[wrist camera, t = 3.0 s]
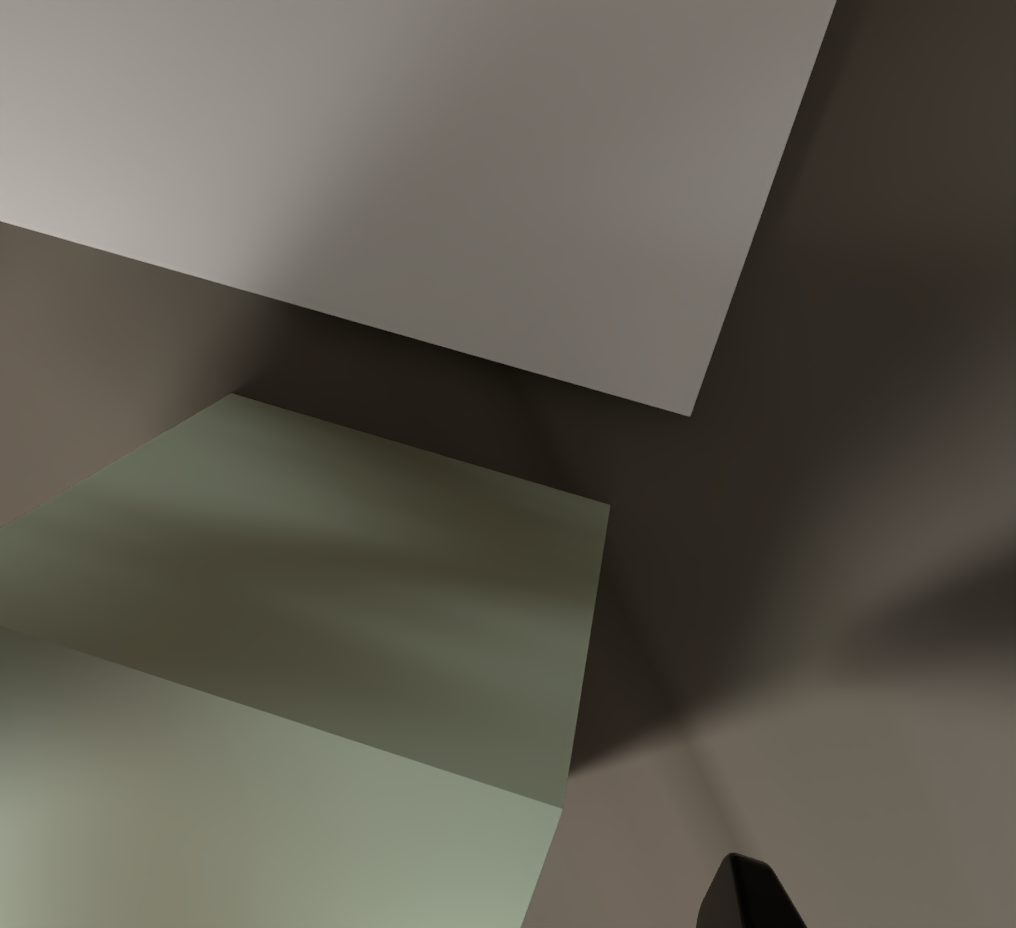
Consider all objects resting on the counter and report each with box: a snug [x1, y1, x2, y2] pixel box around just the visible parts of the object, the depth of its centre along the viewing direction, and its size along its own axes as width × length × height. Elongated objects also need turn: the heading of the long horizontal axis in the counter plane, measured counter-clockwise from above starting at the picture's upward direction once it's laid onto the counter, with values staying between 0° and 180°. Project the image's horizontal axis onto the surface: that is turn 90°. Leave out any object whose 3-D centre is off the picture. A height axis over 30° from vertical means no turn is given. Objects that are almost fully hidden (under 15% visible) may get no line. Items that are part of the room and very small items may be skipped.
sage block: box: [0, 393, 610, 928], centre depth 9 cm, size 5×5×5 cm
